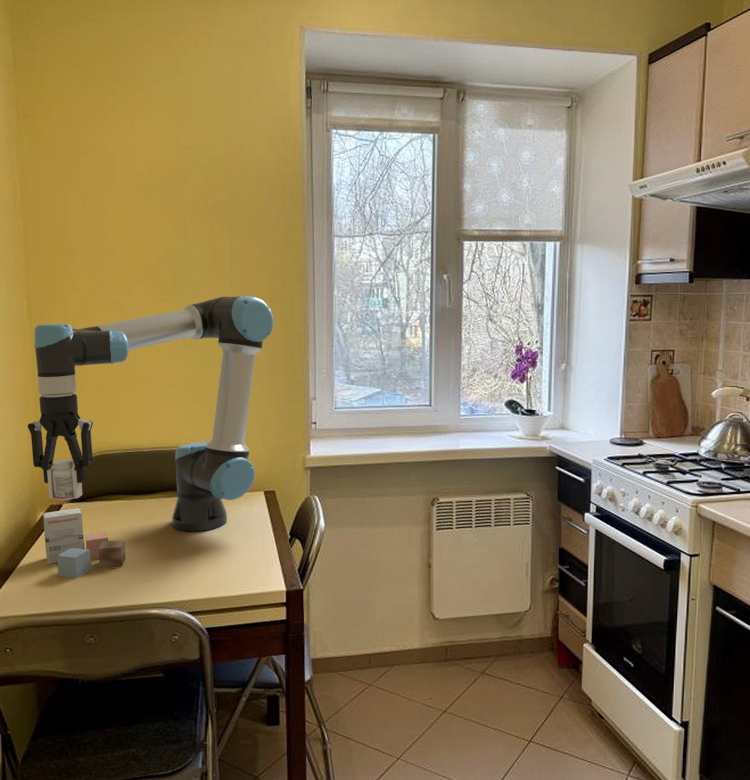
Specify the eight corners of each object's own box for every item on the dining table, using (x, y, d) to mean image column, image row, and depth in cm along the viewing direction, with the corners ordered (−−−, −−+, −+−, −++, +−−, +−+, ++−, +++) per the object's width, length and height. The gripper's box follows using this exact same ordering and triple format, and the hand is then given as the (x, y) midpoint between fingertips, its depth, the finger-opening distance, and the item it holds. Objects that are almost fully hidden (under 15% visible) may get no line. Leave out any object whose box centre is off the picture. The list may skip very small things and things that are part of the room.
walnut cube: (125, 559, 165) (124, 539, 164) (122, 567, 160) (120, 547, 159) (104, 560, 164) (102, 541, 163) (99, 568, 159) (98, 548, 158)
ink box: (83, 551, 170) (80, 506, 168) (85, 558, 165) (82, 512, 164) (46, 557, 166) (42, 512, 164) (47, 564, 161) (43, 518, 160)
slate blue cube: (91, 569, 159) (89, 549, 158) (77, 578, 154) (75, 557, 153) (73, 567, 160) (71, 547, 159) (58, 576, 155) (56, 555, 154)
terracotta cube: (107, 549, 171) (106, 531, 170) (109, 556, 167) (108, 537, 166) (86, 553, 169) (85, 534, 168) (87, 560, 164) (86, 540, 164)
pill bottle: (59, 495, 152) (56, 459, 151) (80, 494, 153) (78, 458, 152) (51, 501, 148) (48, 464, 146) (73, 500, 148) (70, 463, 147)
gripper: (105, 391, 151) (112, 491, 154) (25, 392, 150) (34, 492, 154) (91, 396, 143) (99, 501, 147) (8, 397, 143) (17, 502, 146)
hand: (66, 496), depth 150 cm, fingers closed on pill bottle, 5 cm apart
